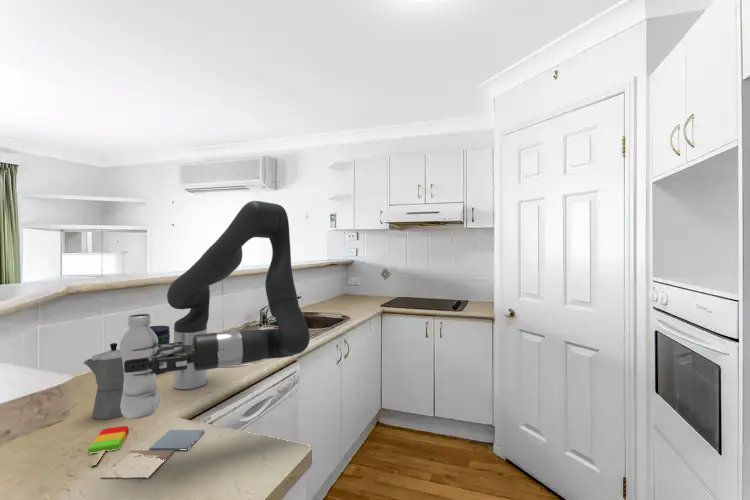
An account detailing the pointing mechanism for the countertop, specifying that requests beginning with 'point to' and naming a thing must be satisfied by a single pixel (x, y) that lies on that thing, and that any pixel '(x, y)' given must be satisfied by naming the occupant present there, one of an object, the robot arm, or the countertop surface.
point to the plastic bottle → (139, 385)
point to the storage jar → (161, 336)
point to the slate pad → (176, 440)
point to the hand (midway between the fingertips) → (125, 362)
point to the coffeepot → (107, 383)
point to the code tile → (153, 453)
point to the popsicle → (109, 439)
